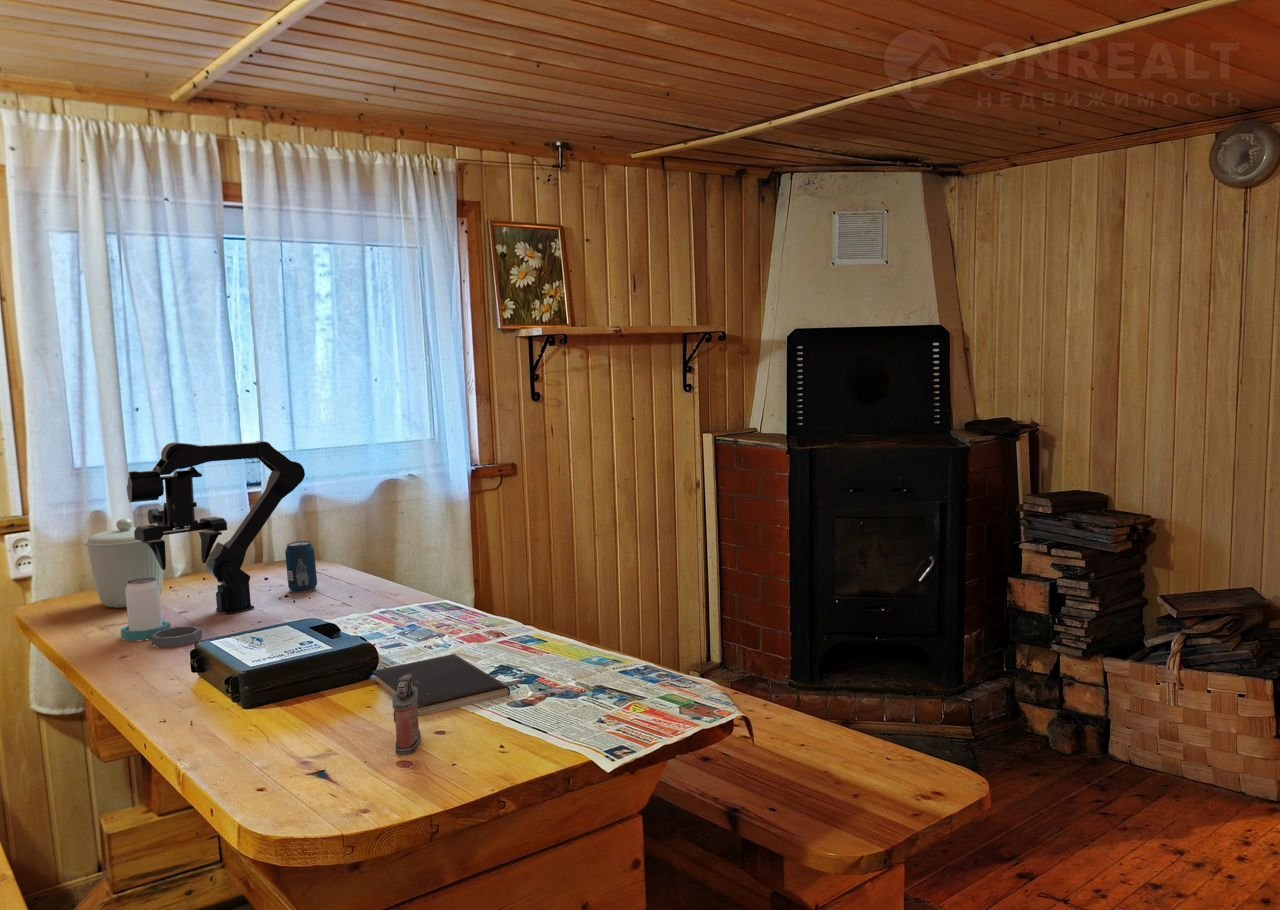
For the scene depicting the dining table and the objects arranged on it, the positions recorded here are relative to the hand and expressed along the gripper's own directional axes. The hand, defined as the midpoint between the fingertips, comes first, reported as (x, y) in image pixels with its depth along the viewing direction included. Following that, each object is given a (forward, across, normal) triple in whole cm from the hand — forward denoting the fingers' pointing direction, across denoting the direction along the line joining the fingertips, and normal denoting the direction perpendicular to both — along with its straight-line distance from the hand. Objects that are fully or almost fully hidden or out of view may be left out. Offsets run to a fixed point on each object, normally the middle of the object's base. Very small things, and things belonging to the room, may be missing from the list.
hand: (184, 566), depth 225 cm
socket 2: (+12, +10, +18) cm, 24 cm away
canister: (+12, +1, -28) cm, 31 cm away
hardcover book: (+12, -3, +89) cm, 90 cm away
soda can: (+12, -30, -2) cm, 33 cm away
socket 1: (+12, +12, +7) cm, 18 cm away
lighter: (+12, +15, +106) cm, 107 cm away
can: (+12, +12, +7) cm, 18 cm away
